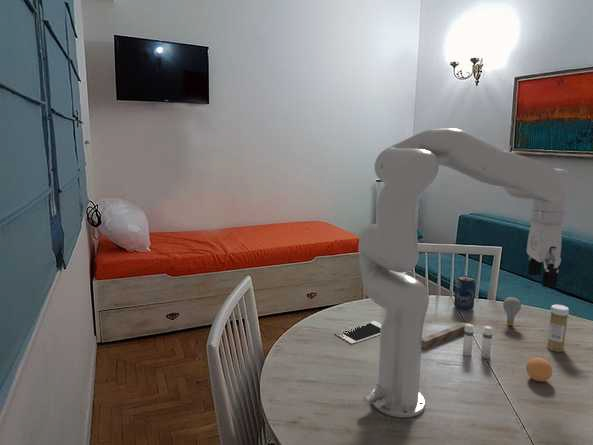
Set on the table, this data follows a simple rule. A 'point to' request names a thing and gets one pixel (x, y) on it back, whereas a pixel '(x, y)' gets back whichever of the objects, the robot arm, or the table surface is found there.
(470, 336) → the side pin
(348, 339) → the cell phone
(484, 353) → the front pin
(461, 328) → the brown wooden bar
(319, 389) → the table surface
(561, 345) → the sprinkles bottle
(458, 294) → the soda can
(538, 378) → the ball
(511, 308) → the light bulb
